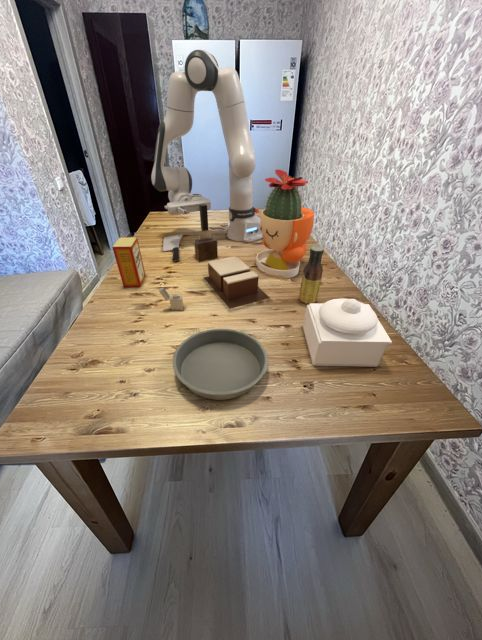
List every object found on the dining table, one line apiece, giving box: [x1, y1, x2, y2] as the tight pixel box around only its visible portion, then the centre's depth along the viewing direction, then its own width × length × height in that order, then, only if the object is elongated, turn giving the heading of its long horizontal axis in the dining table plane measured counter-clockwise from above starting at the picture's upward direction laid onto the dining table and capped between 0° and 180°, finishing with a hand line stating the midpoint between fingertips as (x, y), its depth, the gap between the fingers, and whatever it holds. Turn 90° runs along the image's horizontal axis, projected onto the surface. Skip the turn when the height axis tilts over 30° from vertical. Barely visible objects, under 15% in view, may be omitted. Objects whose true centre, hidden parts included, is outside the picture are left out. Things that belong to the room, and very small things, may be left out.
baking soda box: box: [111, 236, 147, 288], centre depth 108 cm, size 10×6×16 cm
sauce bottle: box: [298, 245, 325, 305], centre depth 94 cm, size 6×6×20 cm
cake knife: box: [198, 204, 212, 241], centre depth 122 cm, size 3×5×22 cm, turn 115°
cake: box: [207, 256, 251, 291], centre depth 109 cm, size 12×12×7 cm
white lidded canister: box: [302, 297, 393, 368], centre depth 78 cm, size 18×18×16 cm
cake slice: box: [223, 270, 260, 299], centre depth 102 cm, size 4×12×7 cm, turn 115°
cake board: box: [203, 275, 271, 310], centre depth 108 cm, size 25×16×1 cm, turn 25°
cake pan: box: [172, 328, 269, 401], centre depth 75 cm, size 25×25×4 cm
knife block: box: [193, 236, 219, 263], centre depth 127 cm, size 9×5×8 cm, turn 115°
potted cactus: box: [255, 168, 315, 279], centre depth 111 cm, size 22×22×35 cm
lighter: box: [158, 287, 185, 311], centre depth 96 cm, size 7×2×8 cm, turn 91°
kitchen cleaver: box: [162, 234, 184, 263], centre depth 137 cm, size 31×2×10 cm
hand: (194, 211), depth 126 cm, fingers open, 8 cm apart
